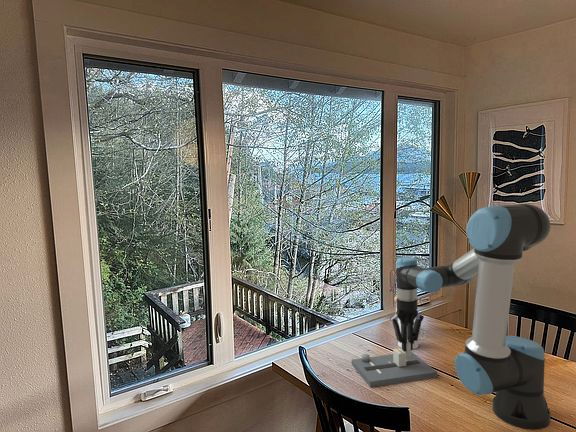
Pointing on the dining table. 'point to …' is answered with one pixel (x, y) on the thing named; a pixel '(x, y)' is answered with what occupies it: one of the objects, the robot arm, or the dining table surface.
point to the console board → (391, 370)
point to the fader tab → (399, 357)
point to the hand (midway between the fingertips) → (407, 358)
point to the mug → (414, 341)
